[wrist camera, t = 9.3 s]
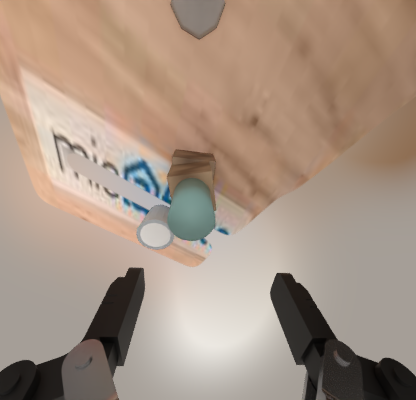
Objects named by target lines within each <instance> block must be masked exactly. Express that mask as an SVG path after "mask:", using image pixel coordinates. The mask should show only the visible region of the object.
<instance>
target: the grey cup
mask: <svg viewBox="0 0 416 400" xmlns="http://www.w3.org/2000/svg"><path fill="white" fill-rule="evenodd" d="M169 209H170V208H169V207H167V206H164V205H156V206H154V207H152V208H151V209H150V211H149V212H148V214H147V215H146V217H145V218H144V220H143V221H142V223H141V224H140V225H139V227H138V228H137V234H136V235H137V238H138V241H139V242H140V243H141V244H142V245H143V246H145V247H147V248H149V249H155V250H158V249H164V248H166V247H168V246H169V245H170V244H171V243H172V242H173V238H174V234H173V233H172V232H171V230H170V229H169V227H168V223H167V217H168V213H169Z"/></svg>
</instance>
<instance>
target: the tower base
mask: <svg viewBox="0 0 416 400" xmlns="http://www.w3.org/2000/svg"><path fill="white" fill-rule="evenodd" d="M206 160H209V163H210V166H211V170H212V177H213V178H214V172H215V165H216V161H215V158H214V156H213V154H208V153H200V152H192V151H184V150H175V152H174V154H173V156H172V165H176V164H184V163H191V162H199V161H206ZM170 197H171V193H170Z"/></svg>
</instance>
